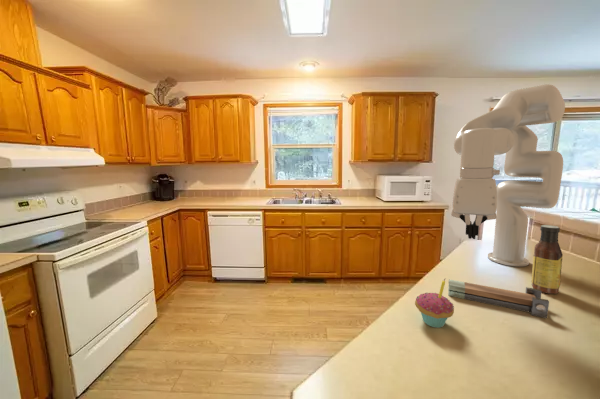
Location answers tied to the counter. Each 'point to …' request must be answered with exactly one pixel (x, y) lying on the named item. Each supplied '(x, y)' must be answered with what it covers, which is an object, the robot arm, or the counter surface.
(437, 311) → the cupcake
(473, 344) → the counter surface
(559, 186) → the robot arm
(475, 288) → the bar
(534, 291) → the base
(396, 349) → the counter surface
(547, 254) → the sauce bottle
